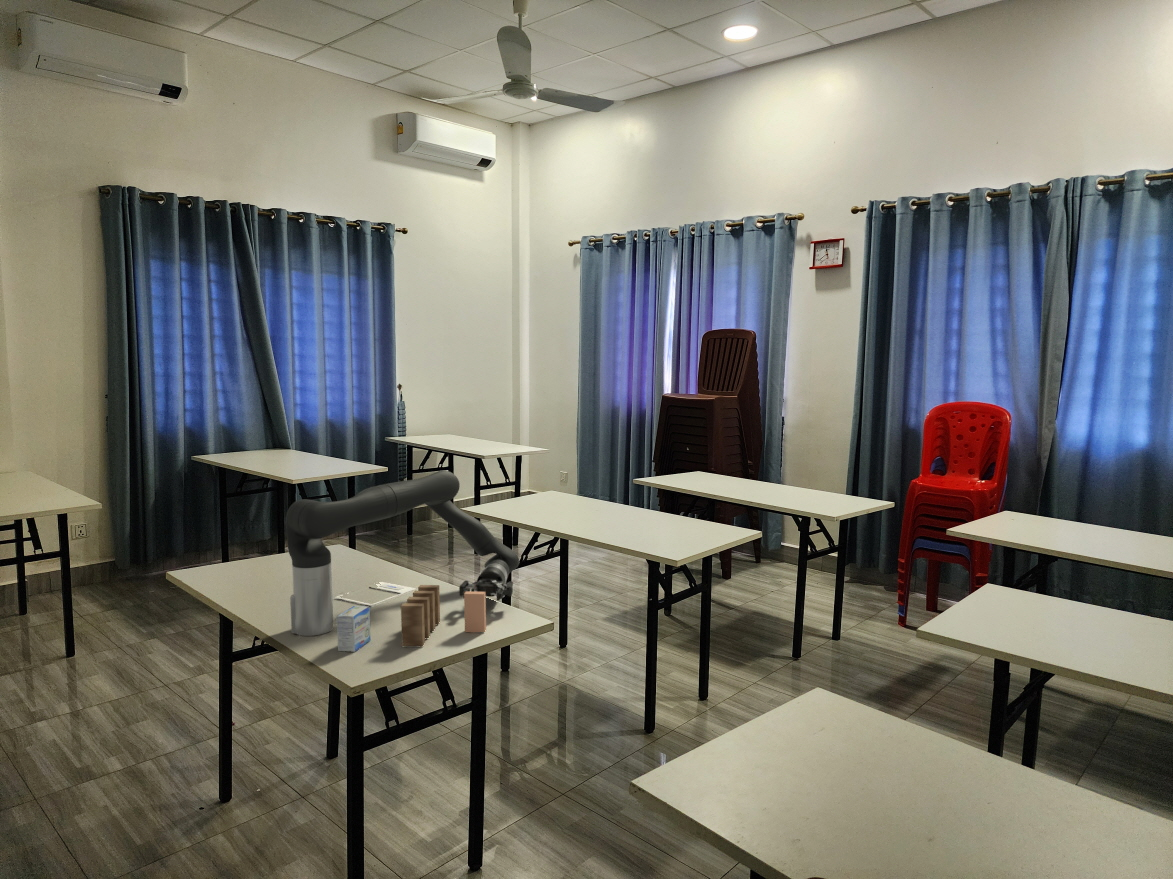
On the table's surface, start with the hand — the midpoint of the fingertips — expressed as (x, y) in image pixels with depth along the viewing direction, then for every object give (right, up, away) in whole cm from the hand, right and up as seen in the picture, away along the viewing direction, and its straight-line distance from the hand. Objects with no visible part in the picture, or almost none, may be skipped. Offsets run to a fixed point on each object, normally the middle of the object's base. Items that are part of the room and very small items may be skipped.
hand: (481, 596), depth 197 cm
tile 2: (-13, -6, -3) cm, 15 cm away
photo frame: (-34, -5, +22) cm, 41 cm away
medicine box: (-28, -8, -18) cm, 34 cm away
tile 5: (-14, -8, -18) cm, 24 cm away
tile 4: (-14, -7, -13) cm, 20 cm away
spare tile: (0, -7, -9) cm, 11 cm away
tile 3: (-13, -7, -8) cm, 17 cm away
